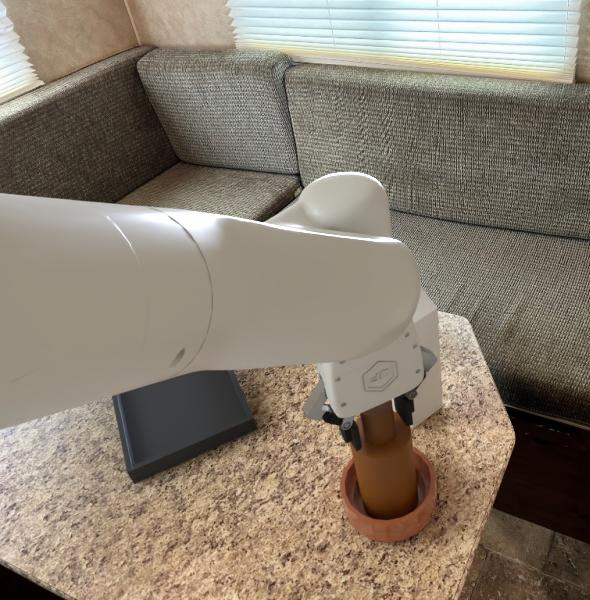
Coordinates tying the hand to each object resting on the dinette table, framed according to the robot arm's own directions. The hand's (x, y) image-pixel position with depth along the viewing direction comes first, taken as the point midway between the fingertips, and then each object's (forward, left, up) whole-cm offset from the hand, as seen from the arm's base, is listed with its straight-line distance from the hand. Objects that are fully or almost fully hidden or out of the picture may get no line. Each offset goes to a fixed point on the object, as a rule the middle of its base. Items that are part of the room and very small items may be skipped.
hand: (379, 428), depth 67 cm
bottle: (0, 0, -14) cm, 14 cm away
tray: (-20, +37, -15) cm, 45 cm away
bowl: (0, 0, -15) cm, 15 cm away
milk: (+10, +12, -15) cm, 21 cm away
